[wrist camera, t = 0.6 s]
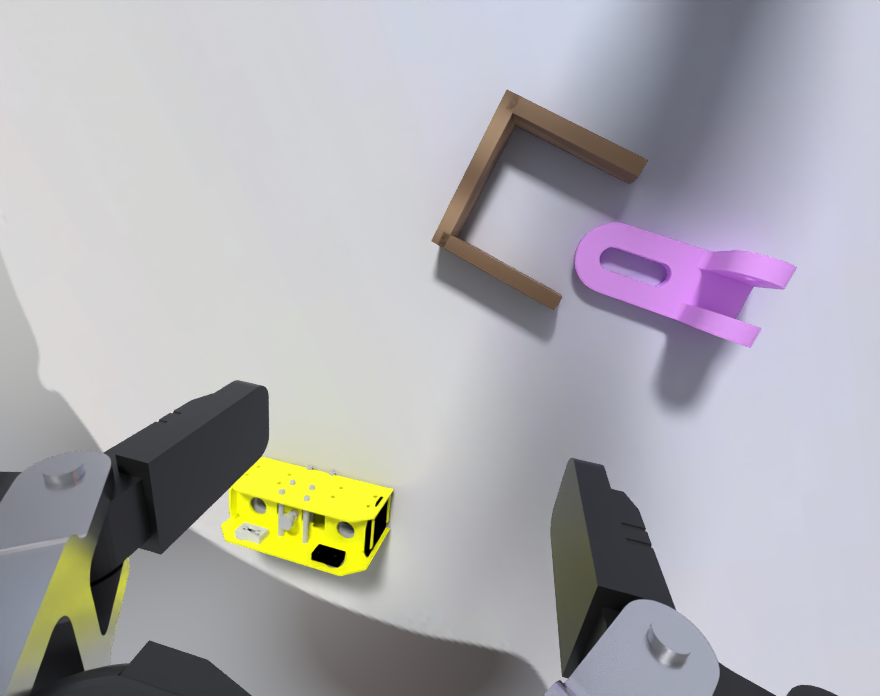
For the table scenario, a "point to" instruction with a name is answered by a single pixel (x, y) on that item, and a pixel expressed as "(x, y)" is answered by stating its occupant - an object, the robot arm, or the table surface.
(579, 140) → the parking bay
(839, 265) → the table surface
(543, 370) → the table surface
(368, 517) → the yellow toy chassis
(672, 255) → the bracket
